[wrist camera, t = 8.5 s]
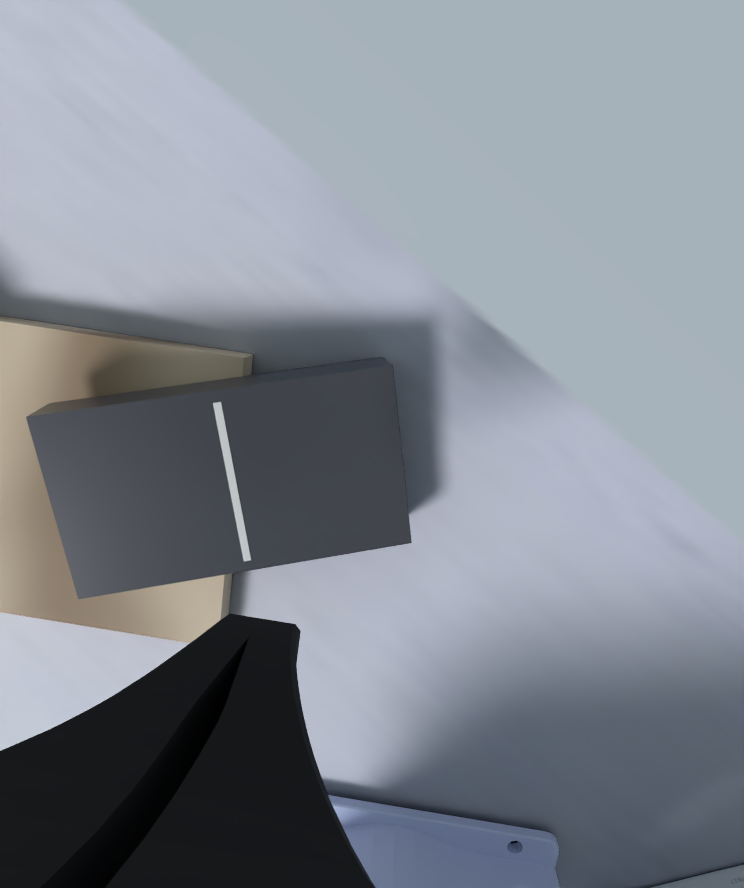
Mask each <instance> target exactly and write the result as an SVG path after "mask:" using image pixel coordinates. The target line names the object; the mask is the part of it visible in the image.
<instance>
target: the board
mask: <svg viewBox="0 0 744 888" xmlns="http://www.w3.org/2000/svg"><path fill="white" fill-rule="evenodd" d="M252 362H253V354H249V353H242V352H236V351H229V350H222V349H216V348H209V347H203V346H196V345H190V344H183V343H176V342H170V341H163V340H157V339H150V338H143V337H137V336H130V335H124V334H117V333H110V332H104V331H97V330H91V329H84V328H78V327H71V326H64V325H58V324H51V323H45V322H38V321H31V320H25V319H18V318H12V317H5V316H0V612H3V613H9V614H15V615H21V616H27V617H33V618H40V619H46V620H52V621H58V622H64V623H70V624H76V625H83V626H89V627H95V628H101V629H107V630H113V631H119V632H126V633H132V634H138V635H144V636H150V637H156V638H162V639H169V640H175V641H181V642H187V643H191V642H192V641H194V640H195V639H196V638H198V637H199V636H200V635H202V634H203V633H204V632H205V631H207V630H208V629H209V628H211V627H212V626H213V625H214V624H216V623H217V622H218V621H220V620H221V619H223V618H224V617H225V616H227V615H228V614H229V606H230V595H231V585H232V574H233V573H231V574H225V575H219V576H214V577H208V578H202V579H196V580H190V581H184V582H178V583H172V584H166V585H161V586H155V587H149V588H143V589H137V590H131V591H125V592H119V593H114V594H108V595H102V596H96V597H90V598H84V599H78V597H77V593H76V590H75V586H74V583H73V579H72V576H71V572H70V569H69V566H68V562H67V559H66V555H65V552H64V548H63V545H62V541H61V538H60V534H59V531H58V527H57V524H56V520H55V517H54V513H53V510H52V506H51V503H50V499H49V496H48V492H47V489H46V485H45V482H44V478H43V475H42V472H41V468H40V465H39V461H38V458H37V454H36V451H35V447H34V444H33V440H32V437H31V433H30V430H29V426H28V423H27V419H26V417H27V416H28V415H30V414H32V413H34V412H35V411H37V410H39V409H40V408H42V407H44V406H45V405H47V404H49V403H54V402H61V401H68V400H75V399H83V398H90V397H97V396H104V395H112V394H119V393H126V392H133V391H141V390H148V389H155V388H162V387H169V386H177V385H184V384H191V383H198V382H206V381H213V380H220V379H227V378H235V377H242V376H249V375H251V372H252Z"/></svg>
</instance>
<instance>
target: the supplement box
mask: <svg viewBox="0 0 744 888" xmlns="http://www.w3.org/2000/svg"><path fill="white" fill-rule="evenodd" d="M651 888H744V865H740V866H736V867H732V868H727V869H723V870H719V871H715V872H711V873H707V874H703V875H699V876H695V877H691V878H687V879H683V880H679V881H675V882H671V883H667V884H663V885H659V886H655V887H651Z"/></svg>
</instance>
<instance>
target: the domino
mask: <svg viewBox="0 0 744 888" xmlns="http://www.w3.org/2000/svg"><path fill="white" fill-rule="evenodd" d="M26 419H27V423H28V426H29V430H30V433H31V437H32V440H33V444H34V447H35V451H36V454H37V458H38V461H39V465H40V468H41V472H42V475H43V478H44V482H45V485H46V489H47V492H48V496H49V499H50V503H51V506H52V510H53V513H54V517H55V520H56V524H57V527H58V531H59V534H60V538H61V541H62V545H63V548H64V552H65V555H66V559H67V562H68V566H69V569H70V572H71V576H72V579H73V583H74V586H75V590H76V593H77V597H78V599H84V598H90V597H96V596H102V595H108V594H114V593H119V592H125V591H131V590H137V589H143V588H149V587H155V586H161V585H166V584H172V583H178V582H184V581H190V580H196V579H202V578H208V577H214V576H219V575H225V574H231V573H237V572H243V571H249V570H255V569H261V568H266V567H272V566H278V565H284V564H290V563H296V562H302V561H308V560H314V559H319V558H325V557H331V556H337V555H343V554H349V553H355V552H361V551H366V550H372V549H378V548H384V547H390V546H396V545H402V544H408V543H411V533H410V524H409V515H408V505H407V496H406V487H405V477H404V468H403V459H402V449H401V440H400V430H399V421H398V412H397V402H396V393H395V384H394V374H393V366H392V365H391V364H390V363H389V362H388V361H387V360H386V359H384V358H383V357H379V358H372V359H365V360H358V361H350V362H343V363H336V364H329V365H321V366H314V367H307V368H300V369H293V370H285V371H278V372H271V373H264V374H256V375H249V376H242V377H235V378H227V379H220V380H213V381H206V382H198V383H191V384H184V385H177V386H169V387H162V388H155V389H148V390H141V391H133V392H126V393H119V394H112V395H104V396H97V397H90V398H83V399H75V400H68V401H61V402H54V403H49V404H47V405H45V406H44V407H42V408H40V409H39V410H37V411H35V412H34V413H32V414H30V415H28V416H27V417H26Z"/></svg>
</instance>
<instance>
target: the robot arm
mask: <svg viewBox="0 0 744 888" xmlns="http://www.w3.org/2000/svg"><path fill="white" fill-rule="evenodd" d="M299 639H300V630H299V629H298V627H297V626H296V625H295V624H290V623H284V622H278V621H272V620H266V619H260V618H253V617H247V616H241V615H235V614H228V615H227V616H225V617H224V618H223V619H221V620H220V621H218V622H217V623H216V624H214V625H213V626H212V627H211V628H209V629H208V630H207V631H205V632H204V633H203V634H202V635H200V636H199V637H198V638H196V639H195V640H194V641H192V642H191V643H190V644H188V645H187V646H186V647H184V648H183V649H182V650H180V651H179V652H178V653H176V654H175V655H173V656H172V657H171V658H169V659H168V660H166V661H165V662H164V663H162V664H161V665H159V666H158V667H157V668H155V669H154V670H152V671H151V672H149V673H148V674H147V675H145V676H143V677H142V678H140V679H139V680H137V681H136V682H134V683H132V684H131V685H129V686H128V687H126V688H125V689H123V690H122V691H120V692H118V693H117V694H115V695H114V696H112V697H110V698H109V699H107V700H105V701H103V702H102V703H100V704H98V705H96V706H94V707H93V708H91V709H89V710H87V711H85V712H83V713H81V714H79V715H77V716H76V717H74V718H72V719H70V720H68V721H66V722H64V723H62V724H60V725H58V726H56V727H54V728H52V729H50V730H48V731H45V732H43V733H41V734H38V735H36V736H34V737H32V738H29V739H27V740H25V741H22V742H20V743H18V744H15V745H13V746H11V747H9V748H6V749H4V750H2V751H0V888H560V886H559V882H558V878H557V874H556V870H555V866H556V863H557V859H558V856H559V846H558V842H557V840H556V838H555V836H554V835H552V834H551V833H549V832H546V831H540V830H534V829H528V828H522V827H516V826H510V825H504V824H498V823H492V822H486V821H480V820H474V819H468V818H462V817H456V816H450V815H444V814H438V813H432V812H427V811H421V810H415V809H409V808H403V807H397V806H391V805H385V804H379V803H373V802H367V801H361V800H355V799H349V798H343V797H337V796H331V795H328V794H327V791H326V788H325V786H324V783H323V781H322V778H321V775H320V772H319V770H318V767H317V764H316V761H315V758H314V755H313V751H312V748H311V744H310V741H309V737H308V733H307V729H306V725H305V721H304V716H303V711H302V706H301V701H300V694H299V687H298V680H297V669H296V662H297V654H298V647H299ZM512 841H518V842H517V843H510V842H512Z"/></svg>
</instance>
